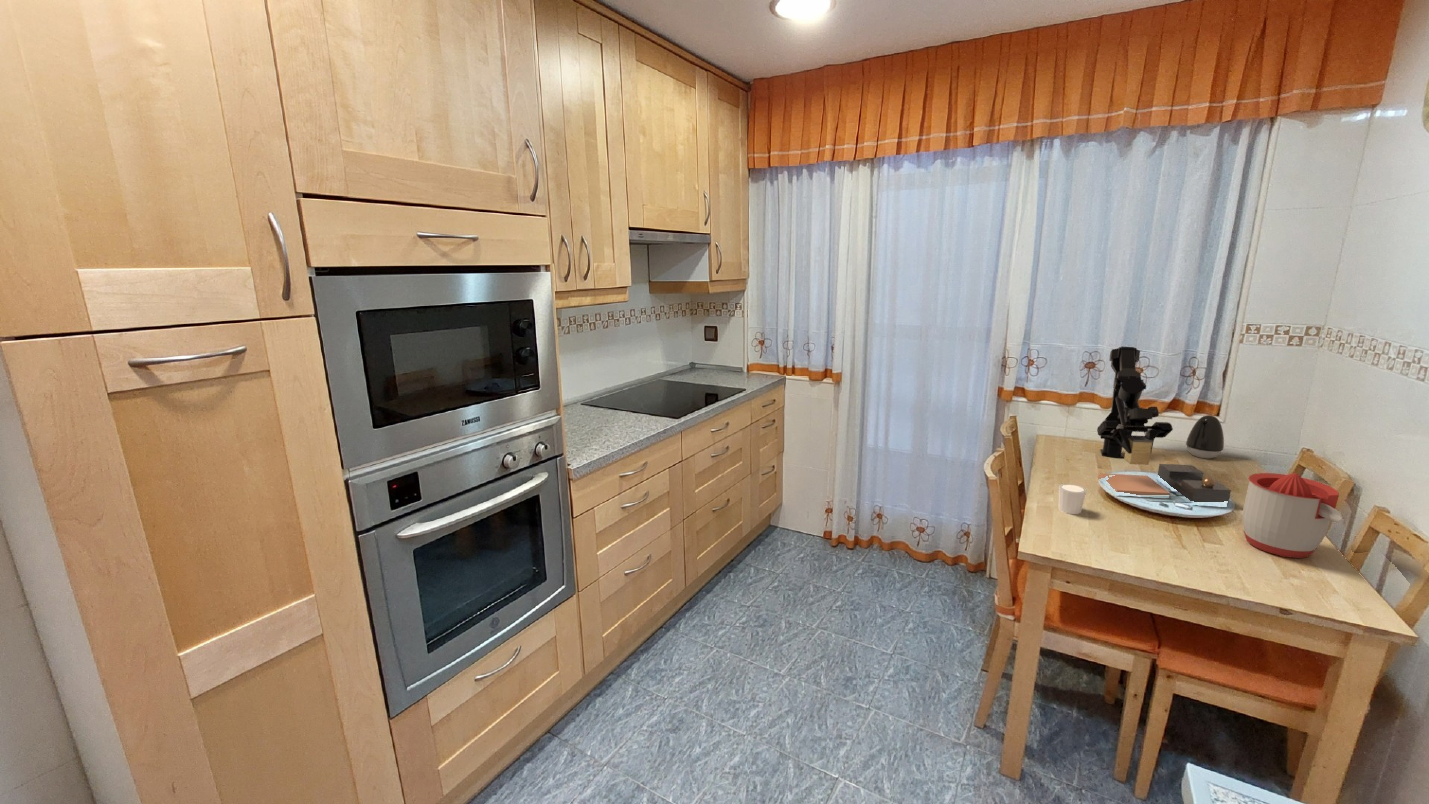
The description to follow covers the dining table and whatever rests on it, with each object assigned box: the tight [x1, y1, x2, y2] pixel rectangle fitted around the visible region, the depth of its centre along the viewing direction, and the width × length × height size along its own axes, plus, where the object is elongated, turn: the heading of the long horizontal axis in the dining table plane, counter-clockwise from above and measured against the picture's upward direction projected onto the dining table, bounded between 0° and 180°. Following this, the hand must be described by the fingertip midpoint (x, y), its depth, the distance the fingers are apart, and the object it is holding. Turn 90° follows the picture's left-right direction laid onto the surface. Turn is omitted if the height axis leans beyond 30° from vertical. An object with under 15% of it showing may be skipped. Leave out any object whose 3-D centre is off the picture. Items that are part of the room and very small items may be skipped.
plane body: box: [1157, 463, 1232, 503], centre depth 173 cm, size 20×9×8 cm, turn 166°
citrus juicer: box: [1242, 472, 1343, 559], centre depth 139 cm, size 16×17×20 cm
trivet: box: [1097, 472, 1171, 495], centre depth 178 cm, size 14×14×2 cm
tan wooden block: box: [1123, 435, 1154, 466], centre depth 175 cm, size 4×5×8 cm
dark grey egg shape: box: [1185, 415, 1225, 460], centre depth 201 cm, size 10×10×15 cm
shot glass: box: [1058, 483, 1087, 515], centre depth 165 cm, size 7×7×7 cm
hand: (1139, 453), depth 174 cm, fingers closed on tan wooden block, 5 cm apart
